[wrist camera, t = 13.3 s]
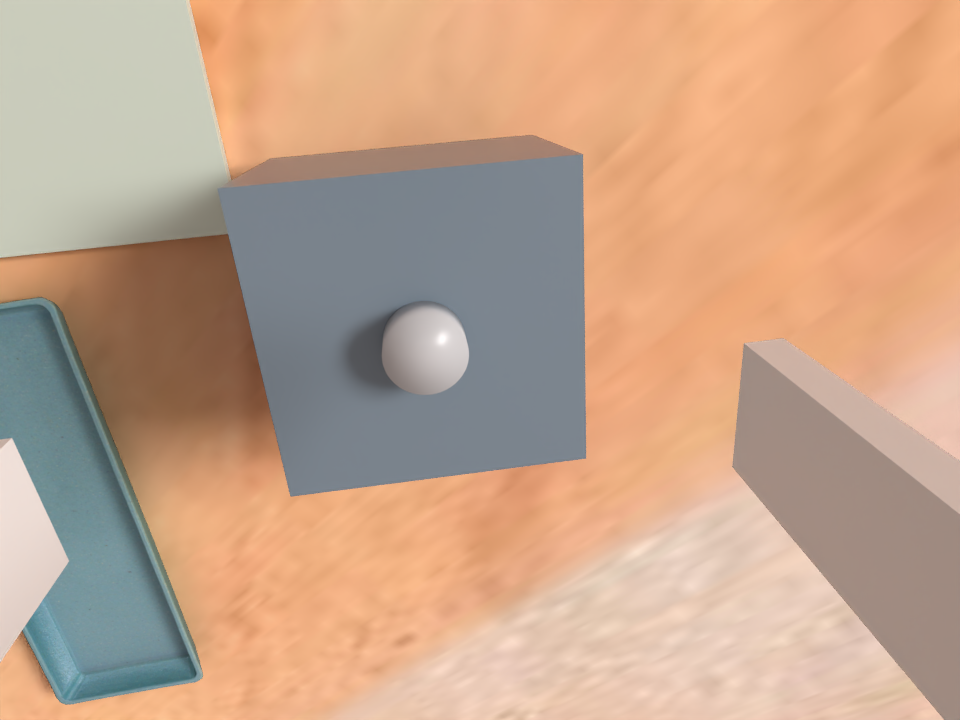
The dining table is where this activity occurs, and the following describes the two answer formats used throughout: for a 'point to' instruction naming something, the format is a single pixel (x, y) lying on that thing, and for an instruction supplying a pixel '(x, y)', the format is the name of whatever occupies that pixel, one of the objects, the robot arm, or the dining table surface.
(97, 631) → the shallow long dish
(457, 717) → the dining table surface
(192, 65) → the mat
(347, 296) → the cover
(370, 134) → the dining table surface
